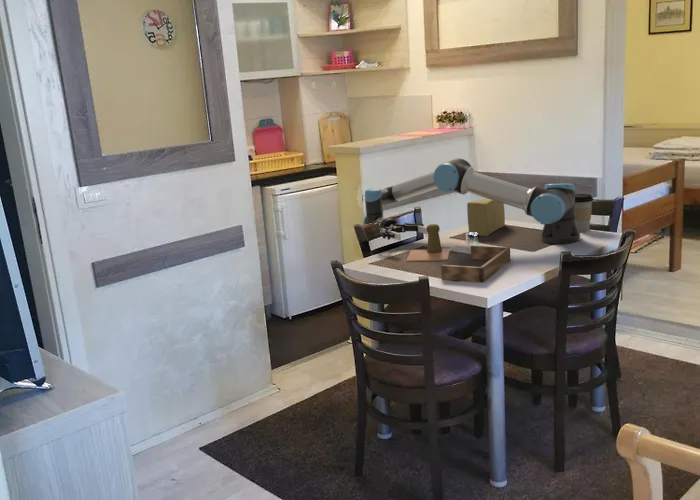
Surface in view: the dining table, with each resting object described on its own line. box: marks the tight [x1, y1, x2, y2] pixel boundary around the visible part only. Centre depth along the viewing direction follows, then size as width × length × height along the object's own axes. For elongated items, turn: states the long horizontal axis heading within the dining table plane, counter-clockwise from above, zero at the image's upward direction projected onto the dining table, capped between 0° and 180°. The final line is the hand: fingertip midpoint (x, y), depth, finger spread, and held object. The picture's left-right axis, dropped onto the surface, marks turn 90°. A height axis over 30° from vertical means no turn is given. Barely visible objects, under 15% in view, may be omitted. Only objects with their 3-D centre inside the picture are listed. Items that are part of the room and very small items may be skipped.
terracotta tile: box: [405, 247, 451, 263], centre depth 273 cm, size 16×16×1 cm
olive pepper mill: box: [426, 223, 443, 253], centre depth 275 cm, size 6×6×11 cm
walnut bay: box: [440, 245, 511, 283], centre depth 247 cm, size 15×28×5 cm, turn 148°
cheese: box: [466, 197, 506, 237], centre depth 304 cm, size 22×10×15 cm, turn 137°
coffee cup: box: [575, 193, 594, 233], centre depth 289 cm, size 9×9×15 cm
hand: (413, 233), depth 279 cm, fingers open, 13 cm apart
